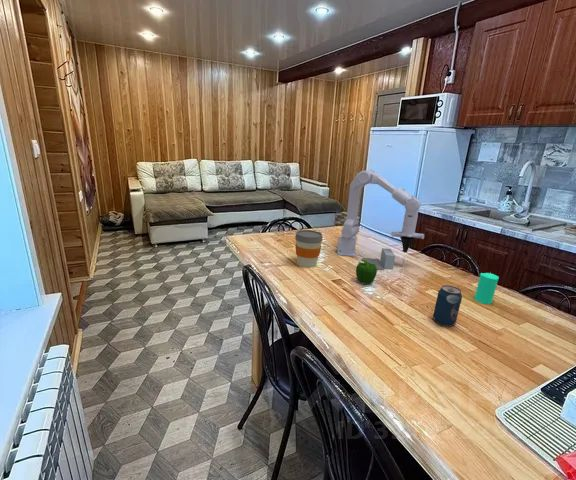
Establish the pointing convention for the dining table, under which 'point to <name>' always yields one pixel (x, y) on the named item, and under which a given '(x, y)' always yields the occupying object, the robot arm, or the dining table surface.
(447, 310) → the soda can
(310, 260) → the reusable coffee cup
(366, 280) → the bell pepper
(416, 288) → the dining table surface
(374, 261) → the flat gray panel
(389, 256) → the slab
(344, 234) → the robot arm
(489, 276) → the candle
